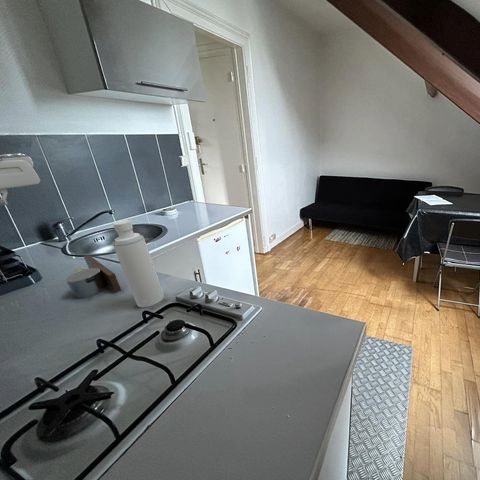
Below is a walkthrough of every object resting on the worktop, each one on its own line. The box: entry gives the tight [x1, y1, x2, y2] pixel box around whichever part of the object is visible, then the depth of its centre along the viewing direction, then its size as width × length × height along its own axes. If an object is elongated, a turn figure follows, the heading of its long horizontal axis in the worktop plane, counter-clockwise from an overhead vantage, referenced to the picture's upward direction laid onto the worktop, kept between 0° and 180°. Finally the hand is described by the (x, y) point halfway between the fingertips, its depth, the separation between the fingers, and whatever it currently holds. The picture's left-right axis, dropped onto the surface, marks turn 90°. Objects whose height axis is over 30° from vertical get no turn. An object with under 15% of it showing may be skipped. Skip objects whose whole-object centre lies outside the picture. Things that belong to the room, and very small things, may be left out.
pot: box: [65, 268, 108, 300], centre depth 79 cm, size 8×10×6 cm
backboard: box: [83, 254, 122, 293], centre depth 85 cm, size 2×26×6 cm, turn 53°
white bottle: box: [112, 219, 165, 308], centre depth 69 cm, size 7×7×25 cm
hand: (0, 205), depth 75 cm, fingers closed
